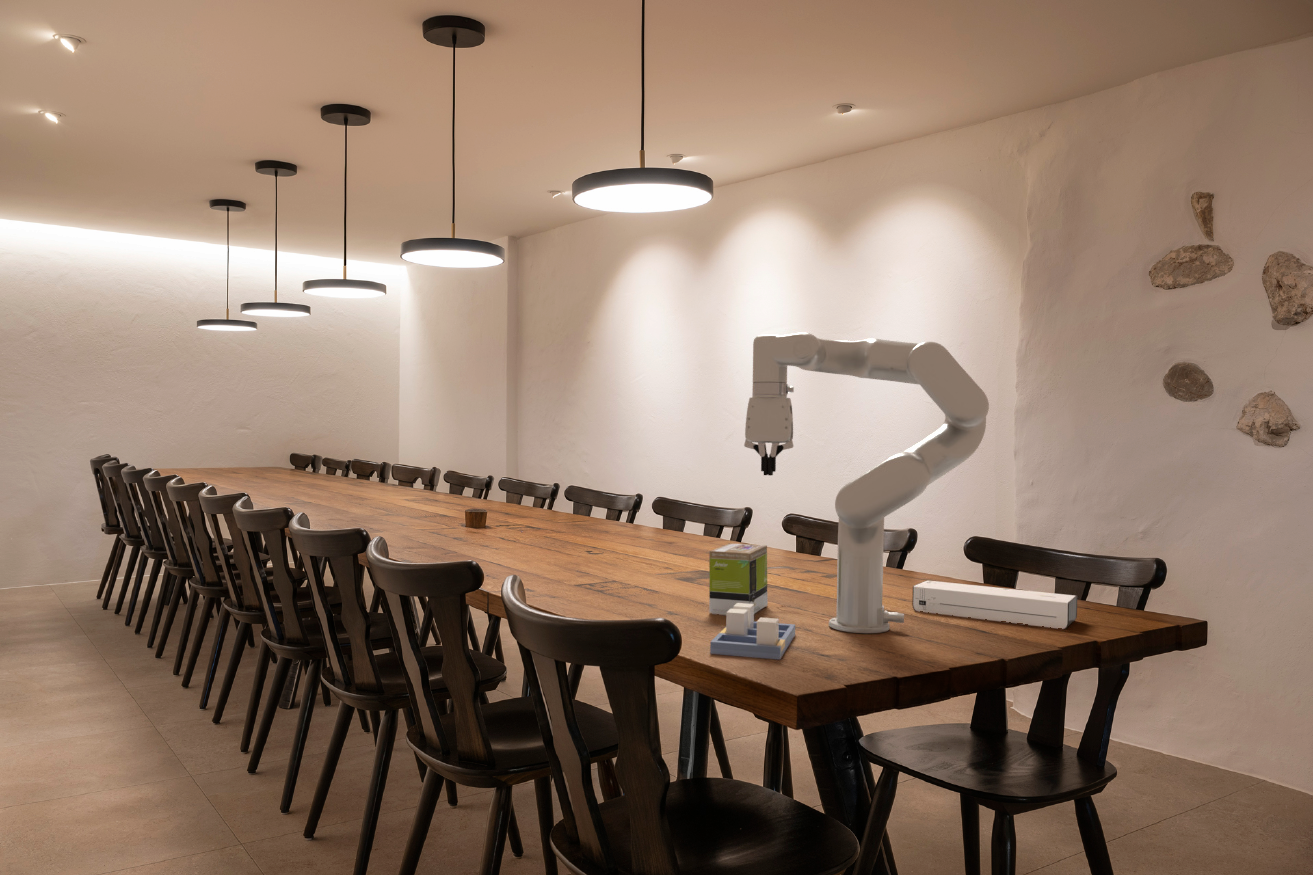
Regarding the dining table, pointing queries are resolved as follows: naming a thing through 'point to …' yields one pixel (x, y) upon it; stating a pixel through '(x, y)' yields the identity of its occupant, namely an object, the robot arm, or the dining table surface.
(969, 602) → the laminator
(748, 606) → the tab
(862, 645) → the dining table surface
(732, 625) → the tab
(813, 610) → the dining table surface
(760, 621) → the tab
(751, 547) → the tea box
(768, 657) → the blue compartment tray
